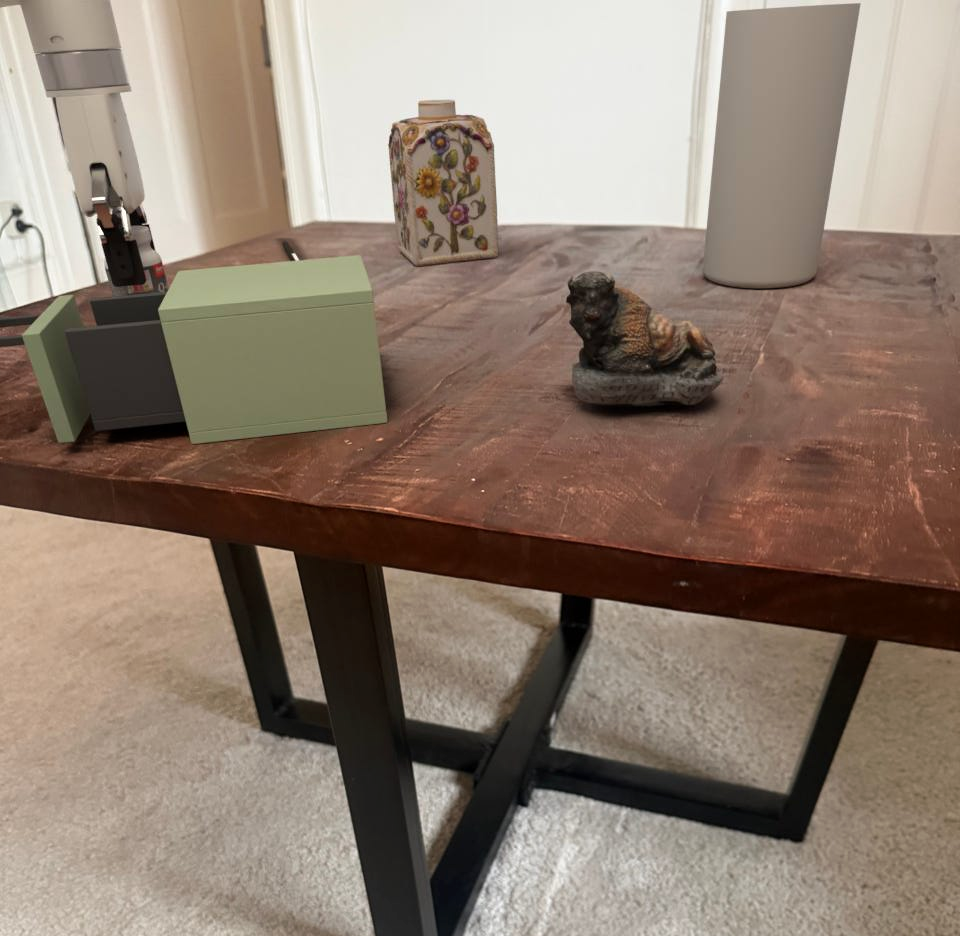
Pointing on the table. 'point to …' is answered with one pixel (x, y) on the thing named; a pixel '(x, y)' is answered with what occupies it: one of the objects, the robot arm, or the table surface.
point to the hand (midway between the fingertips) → (137, 274)
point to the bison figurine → (635, 349)
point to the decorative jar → (443, 186)
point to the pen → (290, 251)
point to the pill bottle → (150, 264)
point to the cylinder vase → (776, 142)
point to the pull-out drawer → (101, 364)
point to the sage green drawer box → (274, 348)
